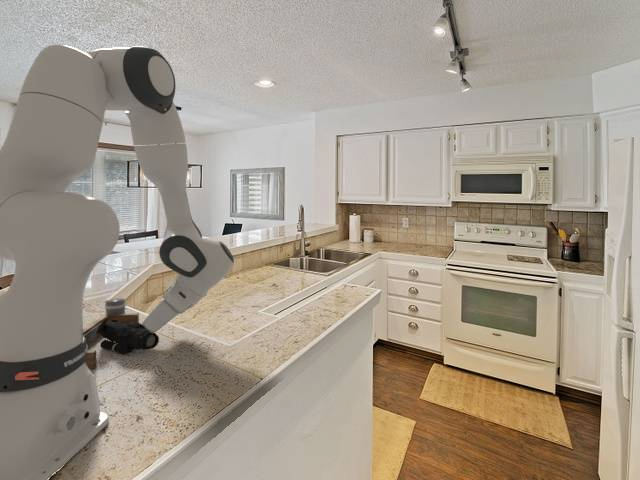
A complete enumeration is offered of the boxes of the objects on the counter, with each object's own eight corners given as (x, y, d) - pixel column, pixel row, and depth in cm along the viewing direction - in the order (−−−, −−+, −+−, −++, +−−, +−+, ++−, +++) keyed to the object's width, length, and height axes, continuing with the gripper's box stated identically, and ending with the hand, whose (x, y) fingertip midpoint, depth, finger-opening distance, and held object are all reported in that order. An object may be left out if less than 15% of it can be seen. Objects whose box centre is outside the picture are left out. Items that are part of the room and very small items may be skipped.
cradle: (94, 369, 73) (93, 352, 73) (47, 371, 72) (46, 354, 71) (138, 326, 99) (138, 313, 99) (105, 327, 97) (105, 314, 97)
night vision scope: (155, 365, 80) (124, 353, 73) (109, 351, 88) (76, 338, 80) (171, 335, 84) (144, 320, 77) (126, 323, 92) (97, 309, 84)
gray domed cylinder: (121, 325, 99) (121, 303, 98) (102, 325, 98) (101, 303, 98) (128, 319, 104) (128, 298, 104) (110, 319, 104) (109, 298, 103)
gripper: (185, 275, 97) (150, 307, 96) (164, 294, 77) (120, 335, 76) (201, 290, 98) (167, 322, 97) (184, 312, 78) (141, 352, 77)
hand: (146, 328), depth 87 cm, fingers closed
